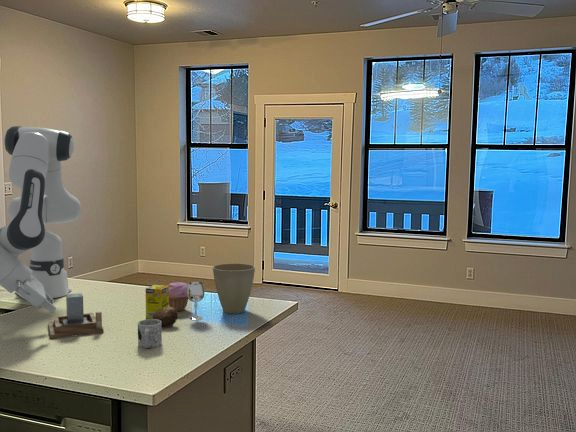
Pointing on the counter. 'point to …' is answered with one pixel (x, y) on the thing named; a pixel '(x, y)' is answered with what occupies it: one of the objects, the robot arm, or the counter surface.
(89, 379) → the counter surface
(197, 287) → the wineglass
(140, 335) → the mug
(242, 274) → the plant pot
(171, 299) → the cupcake
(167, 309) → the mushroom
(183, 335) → the counter surface
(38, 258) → the robot arm
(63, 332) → the brown wooden square tray
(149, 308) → the supplement box
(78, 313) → the grey block on base
